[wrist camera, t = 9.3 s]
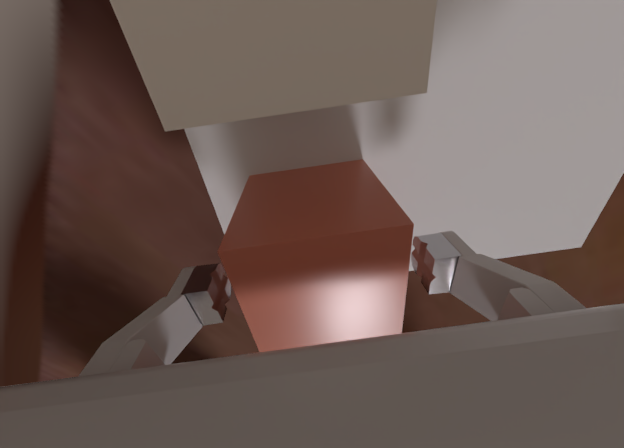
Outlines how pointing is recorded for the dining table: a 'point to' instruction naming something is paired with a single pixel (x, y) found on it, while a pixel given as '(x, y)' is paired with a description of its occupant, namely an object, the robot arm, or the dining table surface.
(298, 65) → the pale grey cube
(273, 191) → the salmon red cube
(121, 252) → the dining table surface
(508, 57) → the plate
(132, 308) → the dining table surface
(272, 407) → the robot arm
